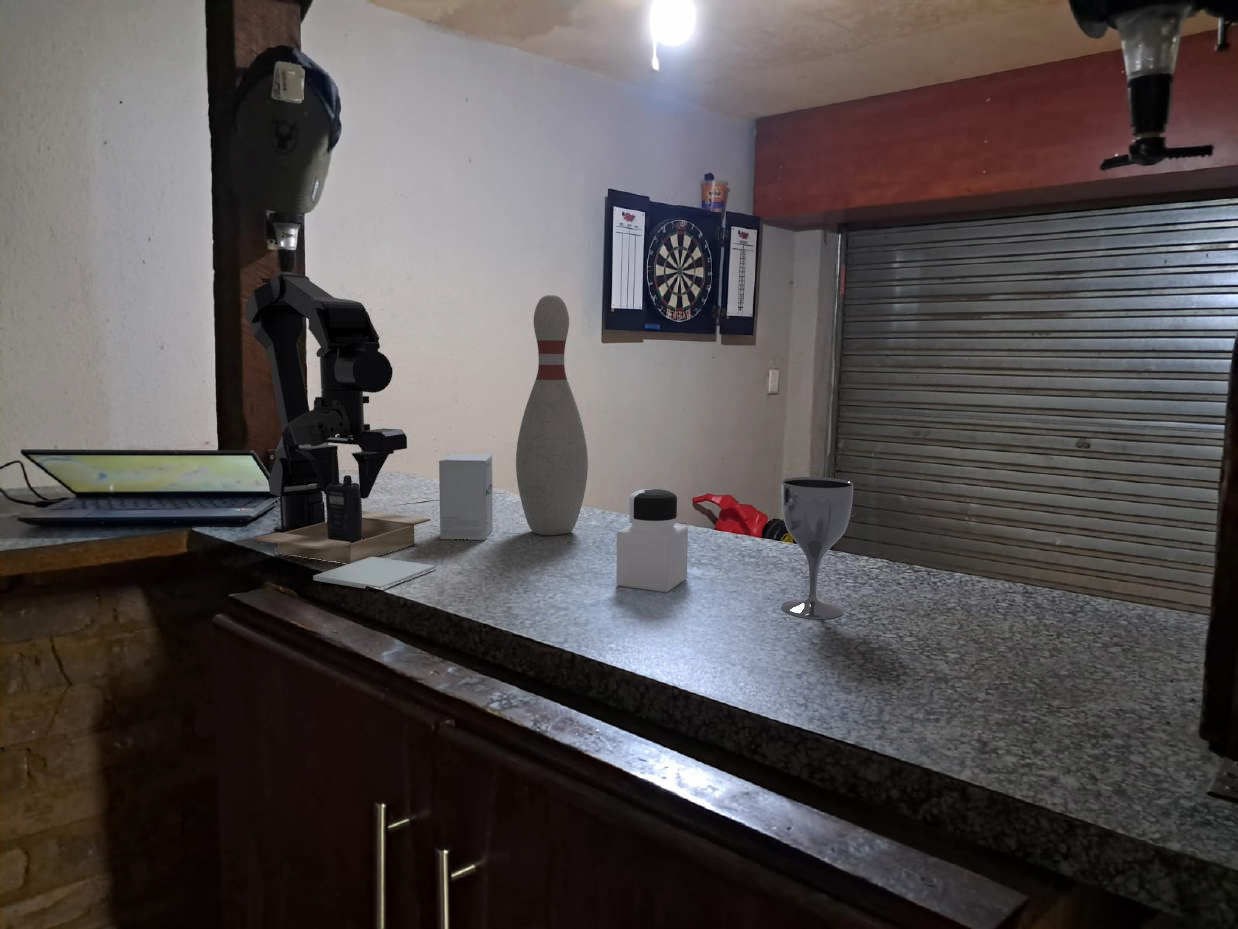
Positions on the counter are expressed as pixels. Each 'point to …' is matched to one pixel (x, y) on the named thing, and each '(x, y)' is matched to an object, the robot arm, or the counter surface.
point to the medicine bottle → (652, 543)
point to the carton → (376, 530)
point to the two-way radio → (343, 507)
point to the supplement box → (466, 497)
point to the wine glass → (815, 531)
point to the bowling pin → (551, 433)
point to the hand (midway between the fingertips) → (346, 496)
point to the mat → (373, 572)
